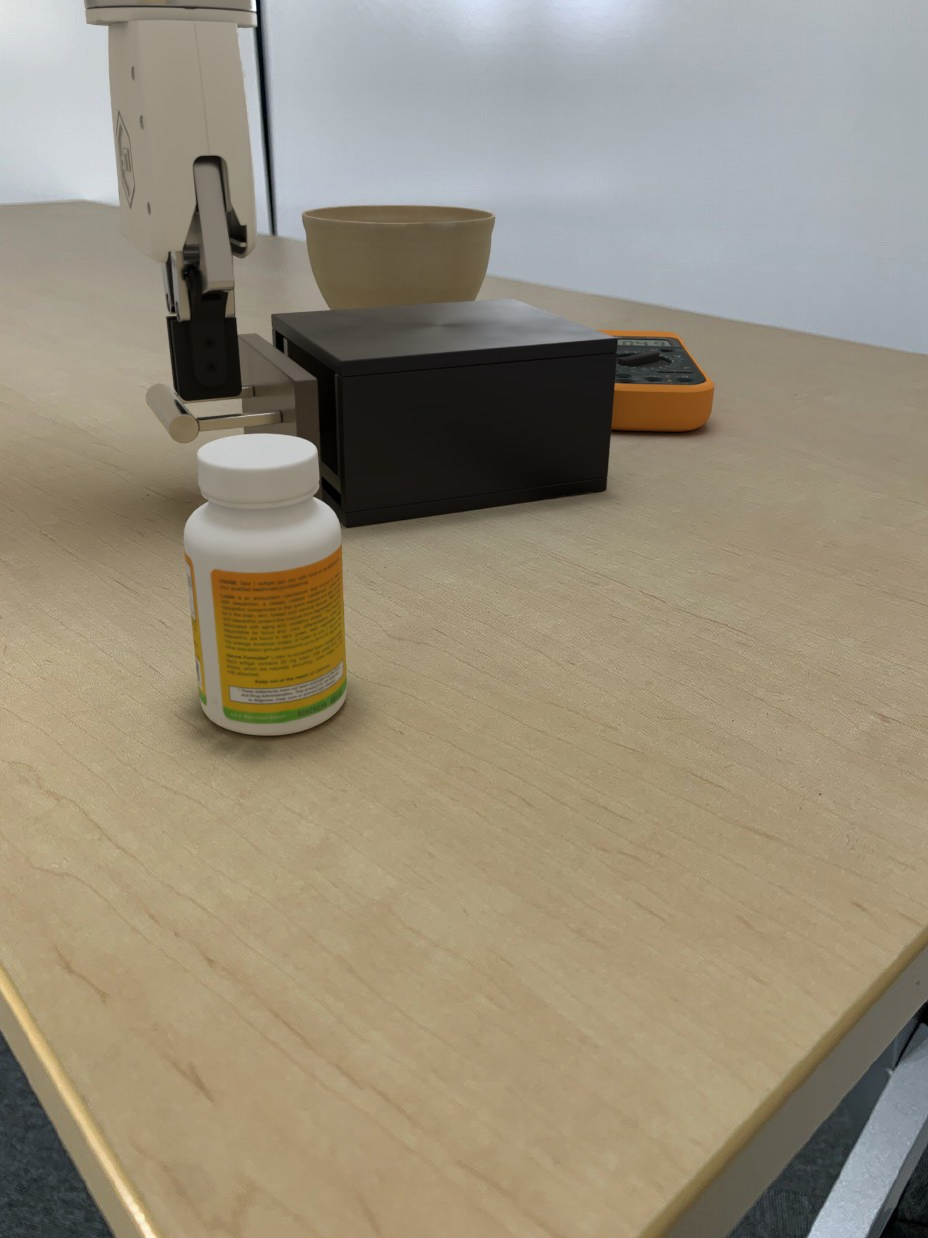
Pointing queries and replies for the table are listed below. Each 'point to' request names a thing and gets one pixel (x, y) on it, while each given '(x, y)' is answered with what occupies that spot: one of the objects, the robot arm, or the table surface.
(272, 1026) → the table surface
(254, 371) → the sliding drawer
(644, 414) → the multimeter
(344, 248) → the planter bowl
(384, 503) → the dark drawer cabinet
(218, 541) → the supplement bottle
